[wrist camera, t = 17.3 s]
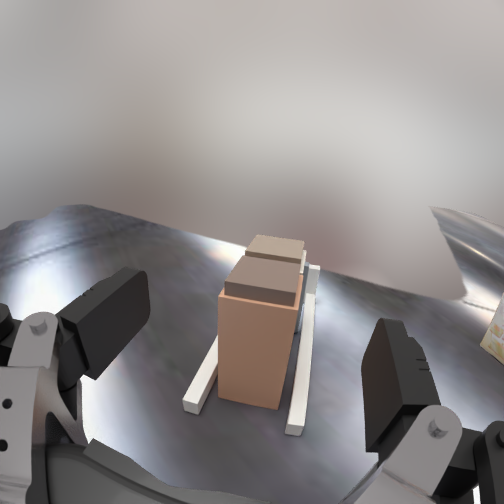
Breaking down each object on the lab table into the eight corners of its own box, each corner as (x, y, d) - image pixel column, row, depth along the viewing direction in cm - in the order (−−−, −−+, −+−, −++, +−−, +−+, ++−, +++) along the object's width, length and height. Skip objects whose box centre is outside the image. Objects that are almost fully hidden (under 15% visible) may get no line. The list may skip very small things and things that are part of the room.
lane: (300, 436, 18) (314, 397, 16) (184, 410, 19) (178, 368, 18) (313, 299, 37) (319, 266, 36) (247, 289, 39) (249, 255, 37)
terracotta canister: (277, 409, 20) (300, 296, 16) (218, 397, 21) (218, 282, 17) (286, 370, 25) (305, 263, 21) (234, 360, 26) (239, 253, 22)
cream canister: (285, 367, 25) (304, 261, 21) (234, 357, 26) (240, 251, 22) (291, 336, 30) (307, 240, 26) (247, 328, 31) (254, 233, 27)
